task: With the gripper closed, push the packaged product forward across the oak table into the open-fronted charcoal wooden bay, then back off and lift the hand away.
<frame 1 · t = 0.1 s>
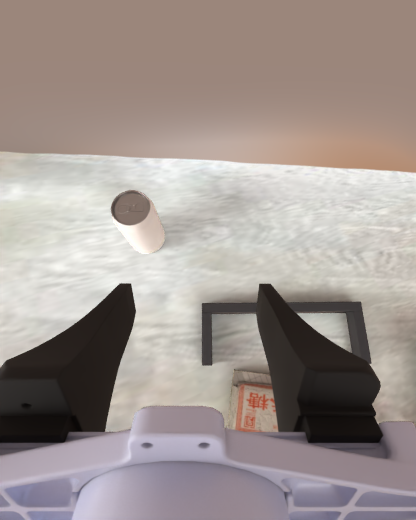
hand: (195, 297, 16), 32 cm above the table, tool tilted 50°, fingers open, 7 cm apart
bay: (280, 337, 46), on the table
packaged product: (286, 411, 43), on the table
can: (148, 238, 51), on the table
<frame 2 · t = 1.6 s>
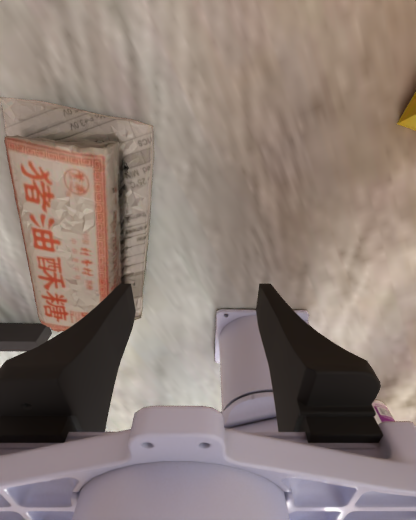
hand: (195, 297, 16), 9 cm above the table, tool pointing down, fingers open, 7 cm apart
packaged product: (92, 225, 24), on the table
pill bottle: (364, 407, 38), on the table
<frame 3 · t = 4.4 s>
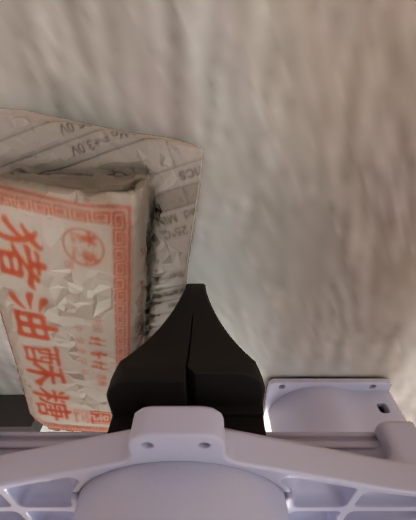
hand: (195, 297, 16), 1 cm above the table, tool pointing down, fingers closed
packaged product: (103, 281, 17), on the table, touching gripper
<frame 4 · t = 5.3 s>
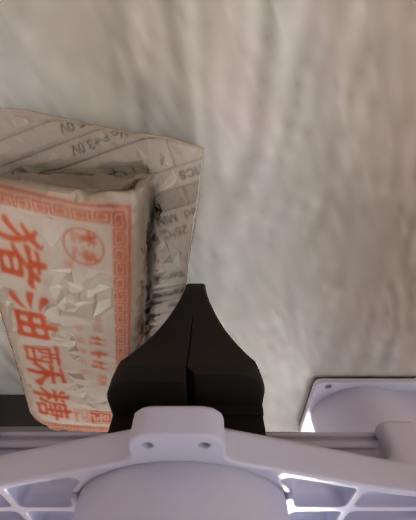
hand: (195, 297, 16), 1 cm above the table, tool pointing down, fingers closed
packaged product: (104, 281, 17), on the table, touching gripper
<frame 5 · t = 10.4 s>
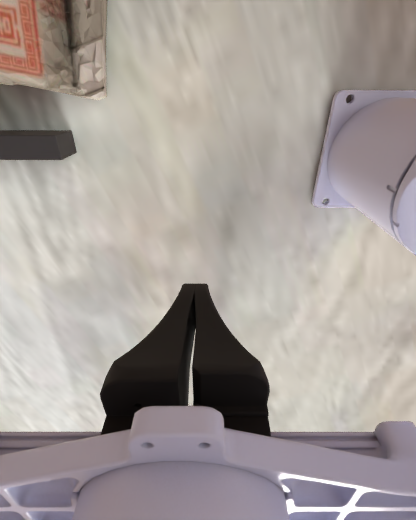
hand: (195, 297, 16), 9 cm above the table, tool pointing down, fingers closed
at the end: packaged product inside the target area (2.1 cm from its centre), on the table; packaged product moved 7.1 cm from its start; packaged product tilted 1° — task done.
